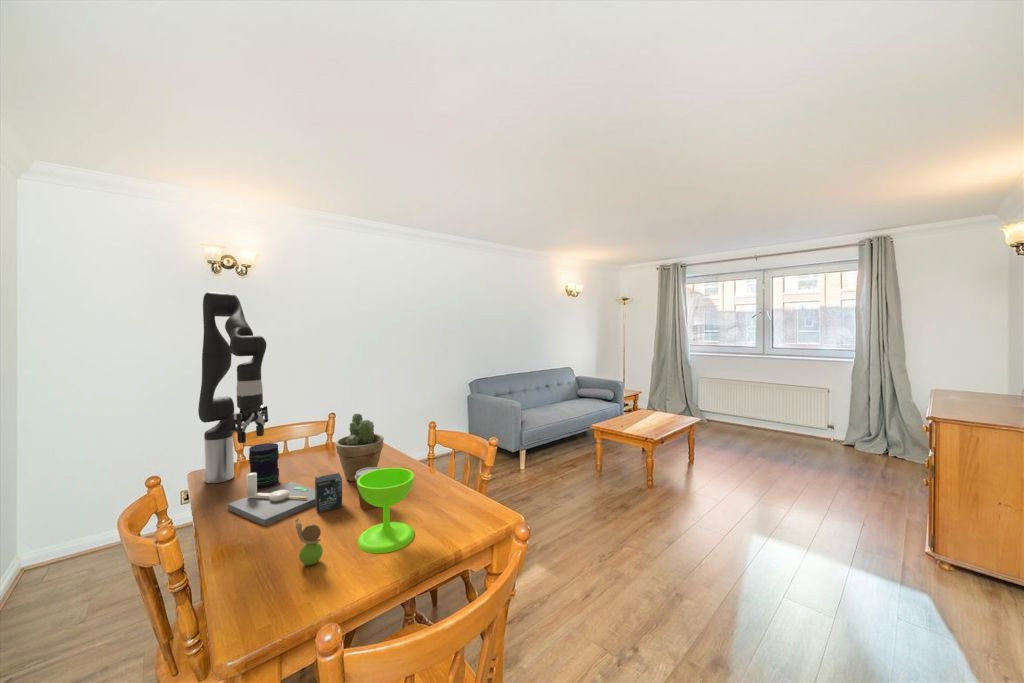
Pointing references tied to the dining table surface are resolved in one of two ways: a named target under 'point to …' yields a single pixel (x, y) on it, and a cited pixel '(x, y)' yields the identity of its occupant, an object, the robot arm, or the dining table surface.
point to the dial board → (274, 504)
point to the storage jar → (265, 464)
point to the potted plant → (359, 447)
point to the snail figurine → (309, 543)
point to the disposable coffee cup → (362, 502)
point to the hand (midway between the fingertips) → (251, 439)
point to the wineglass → (385, 508)
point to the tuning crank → (272, 496)
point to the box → (328, 492)
